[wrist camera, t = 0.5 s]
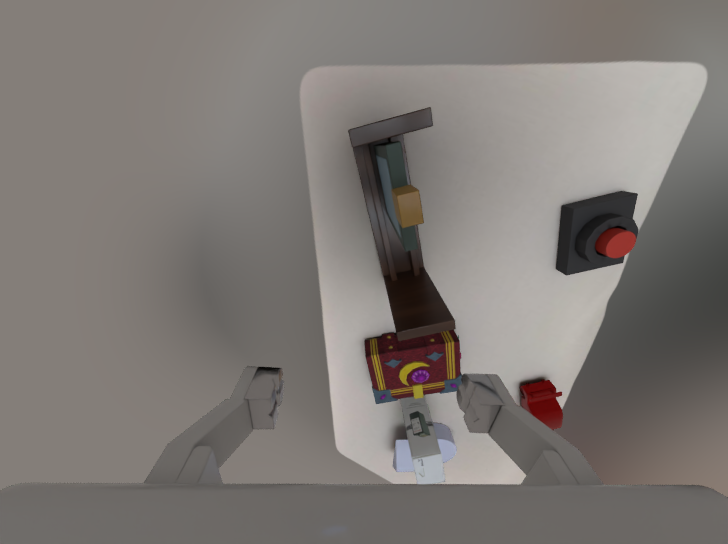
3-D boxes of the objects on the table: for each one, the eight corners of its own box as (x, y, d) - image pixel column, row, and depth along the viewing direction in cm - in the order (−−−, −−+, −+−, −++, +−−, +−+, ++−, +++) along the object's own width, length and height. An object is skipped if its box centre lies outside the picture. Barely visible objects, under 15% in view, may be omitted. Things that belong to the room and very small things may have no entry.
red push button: (596, 231, 34) (608, 235, 32) (625, 224, 34) (639, 228, 32) (592, 256, 35) (604, 261, 34) (620, 249, 35) (633, 254, 34)
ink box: (429, 418, 54) (447, 484, 44) (405, 422, 55) (418, 489, 44) (424, 390, 51) (442, 454, 40) (399, 394, 51) (410, 460, 40)
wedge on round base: (390, 449, 59) (447, 448, 59) (394, 484, 53) (458, 482, 53) (393, 423, 55) (454, 422, 55) (398, 458, 49) (466, 456, 49)
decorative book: (363, 337, 44) (364, 358, 40) (457, 320, 44) (469, 340, 39) (374, 383, 49) (376, 407, 45) (459, 369, 49) (470, 392, 44)
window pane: (371, 145, 31) (387, 145, 17) (385, 142, 30) (411, 139, 17) (386, 218, 34) (409, 267, 20) (398, 215, 34) (429, 262, 20)
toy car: (517, 380, 51) (533, 403, 46) (546, 374, 50) (565, 396, 46) (518, 424, 57) (532, 448, 52) (545, 419, 56) (561, 443, 52)
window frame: (350, 136, 31) (348, 129, 19) (399, 122, 31) (431, 106, 18) (384, 279, 40) (398, 341, 27) (423, 270, 39) (455, 329, 27)
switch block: (561, 205, 36) (584, 212, 32) (622, 190, 35) (652, 195, 32) (555, 269, 40) (575, 281, 37) (609, 257, 40) (635, 268, 36)
